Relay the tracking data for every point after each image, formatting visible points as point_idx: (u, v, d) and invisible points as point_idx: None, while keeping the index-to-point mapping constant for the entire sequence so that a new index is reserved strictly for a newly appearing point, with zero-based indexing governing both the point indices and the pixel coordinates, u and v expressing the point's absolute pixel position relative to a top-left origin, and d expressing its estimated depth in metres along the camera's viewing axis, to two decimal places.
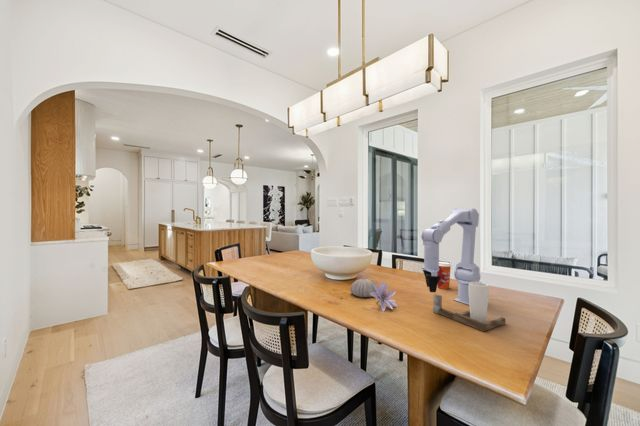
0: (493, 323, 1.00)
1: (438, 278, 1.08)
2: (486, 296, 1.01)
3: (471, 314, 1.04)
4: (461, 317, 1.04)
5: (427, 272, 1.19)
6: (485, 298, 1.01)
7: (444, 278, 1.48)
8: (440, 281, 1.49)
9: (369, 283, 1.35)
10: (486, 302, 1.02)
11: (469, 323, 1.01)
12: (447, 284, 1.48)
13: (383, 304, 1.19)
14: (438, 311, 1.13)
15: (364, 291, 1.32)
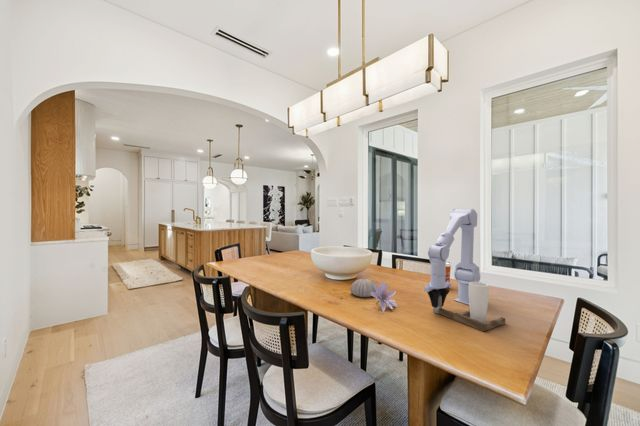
0: (493, 323, 1.00)
1: (434, 294, 1.11)
2: (486, 296, 1.01)
3: (471, 314, 1.04)
4: (461, 317, 1.04)
5: (438, 290, 1.16)
6: (485, 298, 1.01)
7: None
8: None
9: (369, 283, 1.35)
10: (486, 302, 1.02)
11: (469, 323, 1.01)
12: None
13: (383, 304, 1.19)
14: (438, 311, 1.13)
15: (364, 291, 1.32)
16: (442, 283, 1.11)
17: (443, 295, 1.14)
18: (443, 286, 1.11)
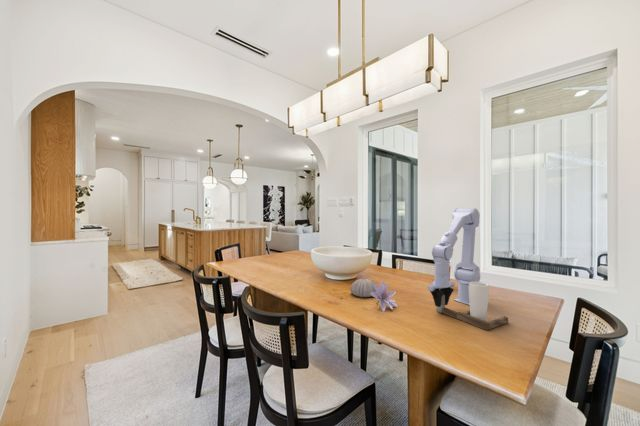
0: (496, 322, 1.01)
1: (438, 293, 1.12)
2: (486, 296, 1.01)
3: (471, 314, 1.04)
4: (465, 316, 1.05)
5: (442, 289, 1.17)
6: (485, 298, 1.01)
7: None
8: None
9: (369, 283, 1.35)
10: (486, 302, 1.02)
11: (472, 322, 1.02)
12: None
13: (383, 304, 1.19)
14: (441, 310, 1.14)
15: (364, 291, 1.32)
16: (446, 282, 1.13)
17: (447, 294, 1.15)
18: (447, 285, 1.13)
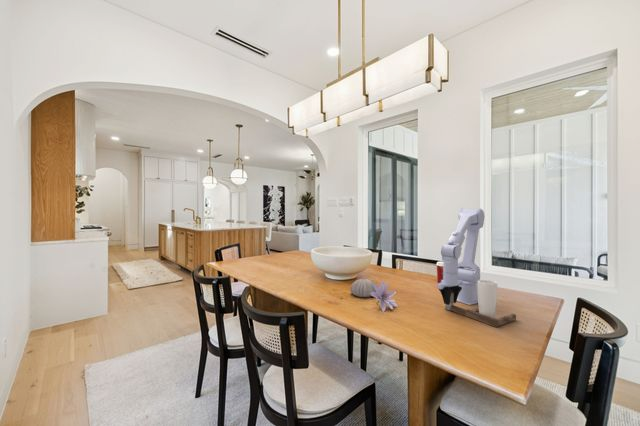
0: (505, 319, 1.03)
1: (447, 291, 1.14)
2: (495, 294, 1.04)
3: (480, 311, 1.07)
4: (474, 313, 1.08)
5: (451, 287, 1.20)
6: (494, 296, 1.04)
7: None
8: (440, 281, 1.49)
9: (369, 283, 1.35)
10: (495, 300, 1.05)
11: (481, 319, 1.05)
12: None
13: (383, 304, 1.19)
14: (450, 308, 1.16)
15: (364, 291, 1.32)
16: (455, 281, 1.15)
17: (456, 292, 1.18)
18: (456, 284, 1.15)
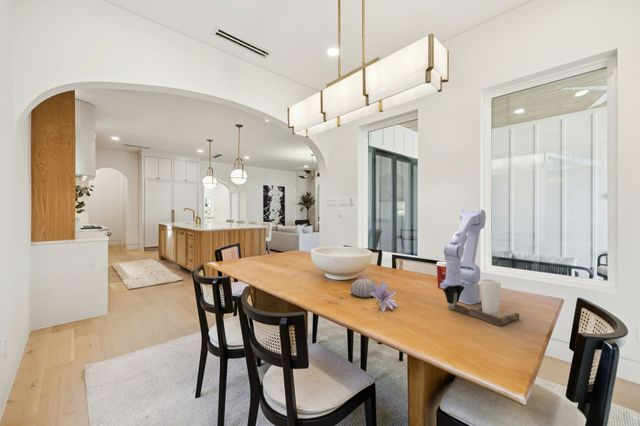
0: (508, 318, 1.04)
1: (450, 290, 1.16)
2: (498, 293, 1.05)
3: (483, 310, 1.08)
4: (477, 312, 1.09)
5: (453, 287, 1.21)
6: (497, 295, 1.05)
7: (444, 278, 1.48)
8: (440, 281, 1.49)
9: (369, 283, 1.35)
10: (498, 299, 1.06)
11: (485, 318, 1.06)
12: None
13: (383, 304, 1.19)
14: (453, 307, 1.18)
15: (364, 291, 1.32)
16: (457, 280, 1.16)
17: (458, 292, 1.19)
18: (458, 283, 1.16)
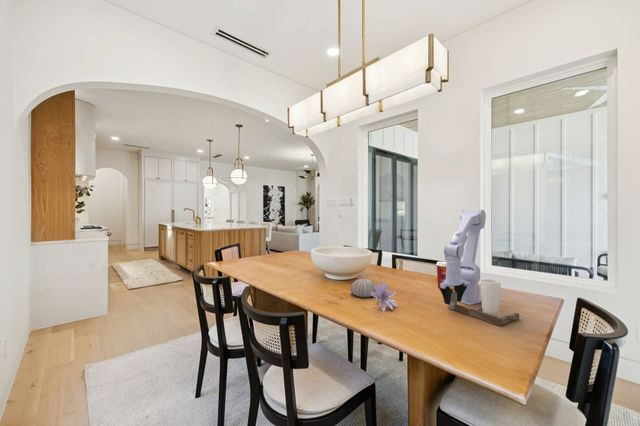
0: (508, 318, 1.04)
1: (447, 291, 1.15)
2: (498, 293, 1.05)
3: (483, 310, 1.08)
4: (477, 312, 1.09)
5: (456, 286, 1.22)
6: (497, 295, 1.05)
7: (444, 278, 1.48)
8: (440, 281, 1.49)
9: (369, 283, 1.35)
10: (498, 299, 1.06)
11: (485, 318, 1.06)
12: None
13: (383, 304, 1.19)
14: (453, 307, 1.18)
15: (364, 291, 1.32)
16: (457, 280, 1.16)
17: (461, 291, 1.20)
18: (458, 283, 1.16)
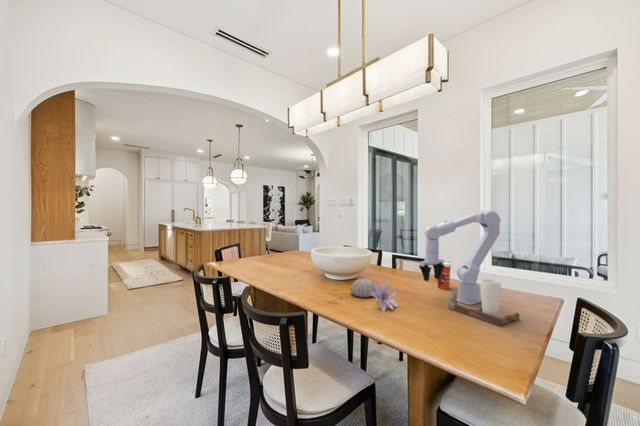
0: (508, 318, 1.04)
1: (426, 268, 1.27)
2: (498, 293, 1.05)
3: (483, 310, 1.08)
4: (477, 312, 1.09)
5: (435, 265, 1.34)
6: (497, 295, 1.05)
7: (444, 278, 1.48)
8: (440, 281, 1.49)
9: (369, 283, 1.35)
10: (498, 299, 1.06)
11: (485, 318, 1.06)
12: (447, 284, 1.48)
13: (383, 304, 1.19)
14: (453, 307, 1.18)
15: (364, 291, 1.32)
16: (435, 259, 1.29)
17: (439, 269, 1.32)
18: (436, 262, 1.29)
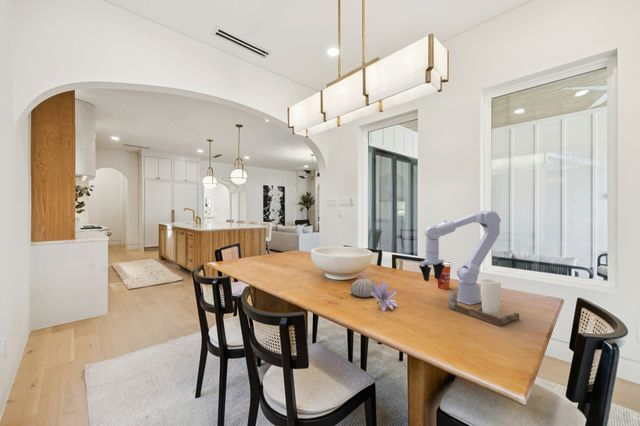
0: (508, 318, 1.04)
1: (426, 268, 1.27)
2: (498, 293, 1.05)
3: (483, 310, 1.08)
4: (477, 312, 1.09)
5: (435, 265, 1.34)
6: (497, 295, 1.05)
7: (444, 278, 1.48)
8: (440, 281, 1.49)
9: (369, 283, 1.35)
10: (498, 299, 1.06)
11: (485, 318, 1.06)
12: (447, 284, 1.48)
13: (383, 304, 1.19)
14: (453, 307, 1.18)
15: (364, 291, 1.32)
16: (435, 259, 1.29)
17: (439, 269, 1.32)
18: (436, 262, 1.29)
